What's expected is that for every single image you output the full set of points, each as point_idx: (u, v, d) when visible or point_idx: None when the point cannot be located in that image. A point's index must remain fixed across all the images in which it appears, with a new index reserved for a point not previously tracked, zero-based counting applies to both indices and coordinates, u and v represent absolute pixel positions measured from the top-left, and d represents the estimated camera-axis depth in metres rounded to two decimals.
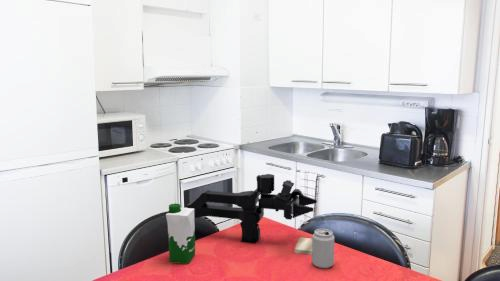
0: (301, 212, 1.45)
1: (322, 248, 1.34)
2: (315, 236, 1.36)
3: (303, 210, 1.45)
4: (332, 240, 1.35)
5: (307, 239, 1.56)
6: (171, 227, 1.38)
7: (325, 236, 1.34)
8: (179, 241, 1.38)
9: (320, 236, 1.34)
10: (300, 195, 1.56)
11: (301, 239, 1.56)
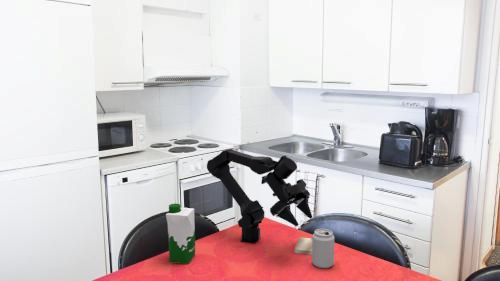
0: (286, 218, 1.39)
1: (322, 248, 1.34)
2: (315, 236, 1.36)
3: (289, 218, 1.38)
4: (332, 240, 1.35)
5: (307, 239, 1.56)
6: (171, 227, 1.38)
7: (325, 236, 1.34)
8: (179, 241, 1.38)
9: (320, 236, 1.34)
10: (304, 200, 1.46)
11: (301, 239, 1.56)
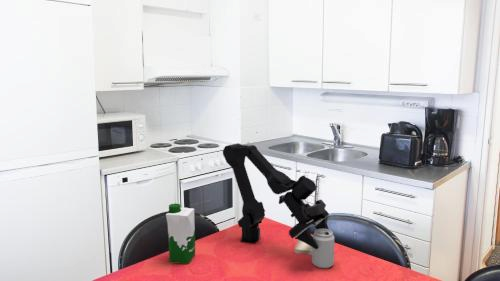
0: (306, 241, 1.35)
1: (322, 248, 1.34)
2: (315, 236, 1.36)
3: (309, 241, 1.34)
4: (332, 240, 1.35)
5: None
6: (171, 227, 1.38)
7: (325, 236, 1.34)
8: (179, 241, 1.38)
9: (320, 236, 1.34)
10: (323, 221, 1.42)
11: None
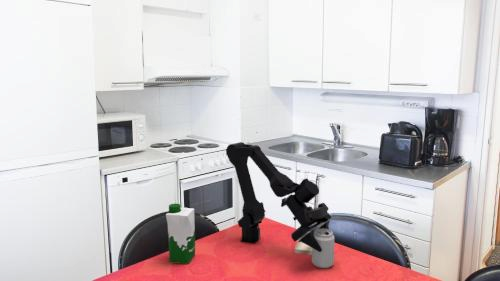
0: (309, 243, 1.35)
1: (322, 248, 1.34)
2: (315, 236, 1.36)
3: (312, 244, 1.34)
4: (332, 240, 1.35)
5: None
6: (171, 227, 1.38)
7: (325, 236, 1.34)
8: (179, 241, 1.38)
9: (320, 236, 1.34)
10: (325, 225, 1.41)
11: None
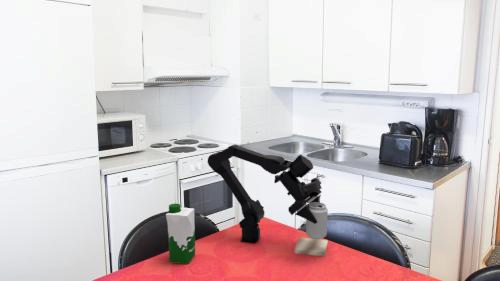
0: (305, 216, 1.41)
1: (317, 220, 1.41)
2: (310, 209, 1.42)
3: (308, 216, 1.41)
4: (326, 212, 1.42)
5: (307, 239, 1.56)
6: (171, 227, 1.38)
7: (320, 208, 1.41)
8: (179, 241, 1.38)
9: (315, 208, 1.41)
10: (316, 199, 1.49)
11: (301, 239, 1.56)
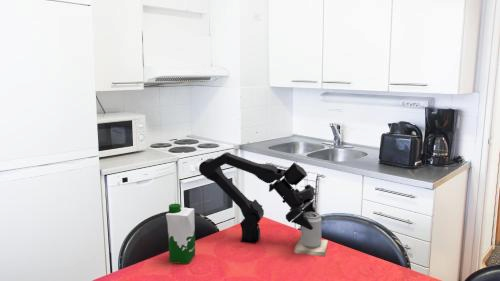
0: (301, 223, 1.45)
1: (312, 229, 1.46)
2: None
3: (304, 223, 1.45)
4: (320, 221, 1.48)
5: None
6: (171, 227, 1.38)
7: (315, 217, 1.46)
8: (179, 241, 1.38)
9: (310, 218, 1.46)
10: (311, 204, 1.54)
11: None
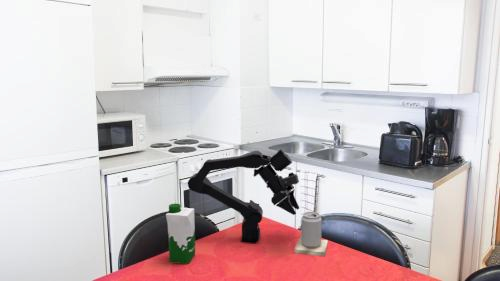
0: (285, 207, 1.47)
1: (312, 229, 1.46)
2: (305, 219, 1.47)
3: (288, 208, 1.47)
4: (320, 221, 1.48)
5: None
6: (171, 227, 1.38)
7: (315, 217, 1.46)
8: (179, 241, 1.38)
9: (310, 218, 1.46)
10: (292, 193, 1.57)
11: None
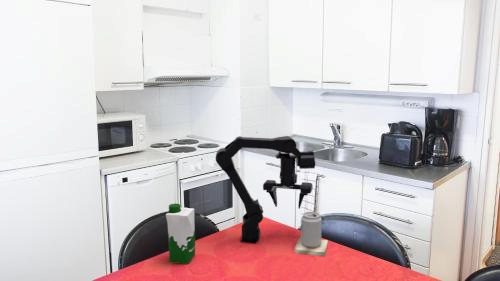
0: None
1: (312, 229, 1.46)
2: (305, 219, 1.47)
3: None
4: (320, 221, 1.48)
5: None
6: (171, 227, 1.38)
7: (315, 217, 1.46)
8: (179, 241, 1.38)
9: (310, 218, 1.46)
10: (276, 189, 1.60)
11: None
